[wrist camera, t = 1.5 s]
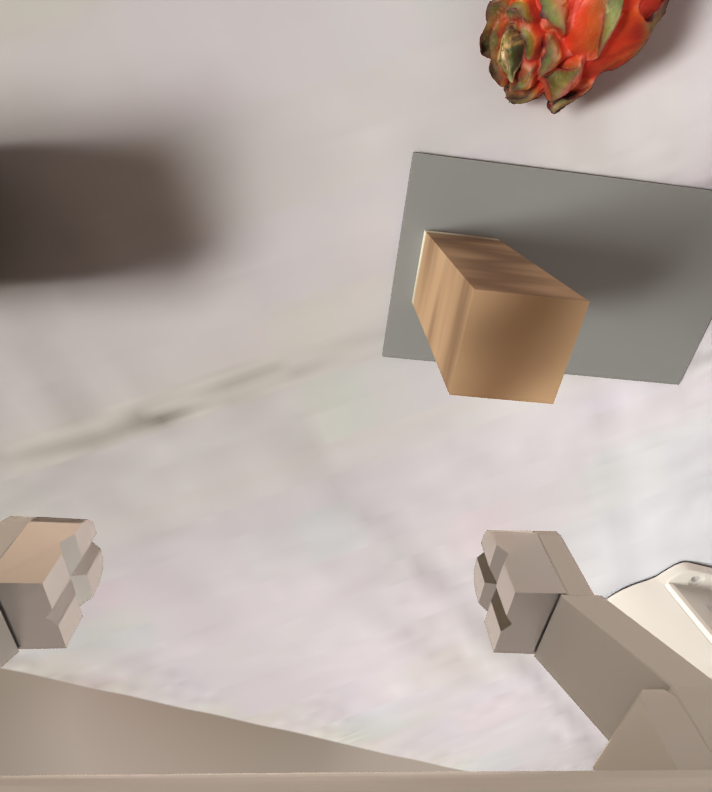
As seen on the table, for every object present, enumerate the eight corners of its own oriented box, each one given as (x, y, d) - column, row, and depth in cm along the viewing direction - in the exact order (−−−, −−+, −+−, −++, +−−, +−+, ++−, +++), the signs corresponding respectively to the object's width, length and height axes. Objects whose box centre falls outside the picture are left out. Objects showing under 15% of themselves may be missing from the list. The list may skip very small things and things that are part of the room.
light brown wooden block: (496, 238, 32) (589, 301, 20) (479, 308, 35) (553, 404, 22) (424, 229, 32) (474, 289, 20) (411, 301, 34) (449, 394, 22)
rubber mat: (766, 197, 32) (770, 197, 31) (675, 382, 39) (678, 384, 38) (413, 152, 30) (413, 152, 30) (382, 354, 37) (382, 356, 36)
